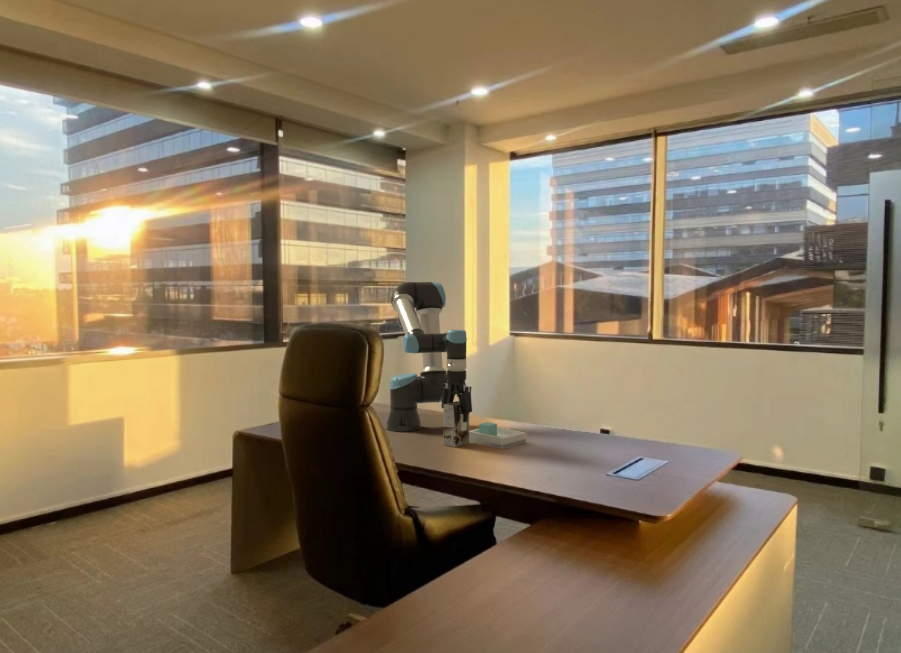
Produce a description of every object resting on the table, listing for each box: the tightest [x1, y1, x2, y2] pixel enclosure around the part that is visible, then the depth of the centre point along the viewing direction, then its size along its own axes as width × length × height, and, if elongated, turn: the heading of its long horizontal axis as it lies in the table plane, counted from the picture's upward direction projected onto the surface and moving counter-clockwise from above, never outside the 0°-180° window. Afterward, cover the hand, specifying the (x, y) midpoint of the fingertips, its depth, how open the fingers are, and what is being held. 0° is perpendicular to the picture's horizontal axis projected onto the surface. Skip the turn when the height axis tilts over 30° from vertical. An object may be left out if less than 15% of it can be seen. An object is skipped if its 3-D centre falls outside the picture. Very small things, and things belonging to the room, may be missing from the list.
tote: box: [469, 426, 527, 450], centre depth 246 cm, size 18×14×4 cm
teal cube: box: [478, 421, 498, 436], centre depth 250 cm, size 5×5×5 cm
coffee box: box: [442, 400, 470, 448], centre depth 243 cm, size 9×6×16 cm
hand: (456, 428), depth 243 cm, fingers closed on coffee box, 7 cm apart
